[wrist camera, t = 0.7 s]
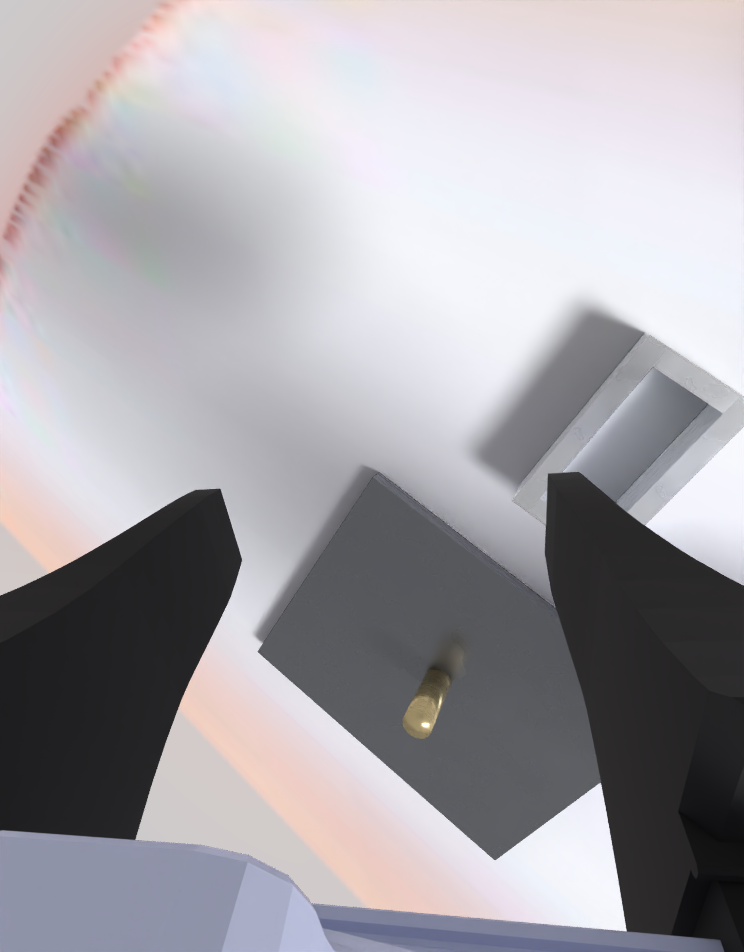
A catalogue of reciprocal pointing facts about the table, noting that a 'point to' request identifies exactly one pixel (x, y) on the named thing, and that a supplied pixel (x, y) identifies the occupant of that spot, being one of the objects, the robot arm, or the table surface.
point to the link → (675, 462)
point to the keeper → (441, 669)
